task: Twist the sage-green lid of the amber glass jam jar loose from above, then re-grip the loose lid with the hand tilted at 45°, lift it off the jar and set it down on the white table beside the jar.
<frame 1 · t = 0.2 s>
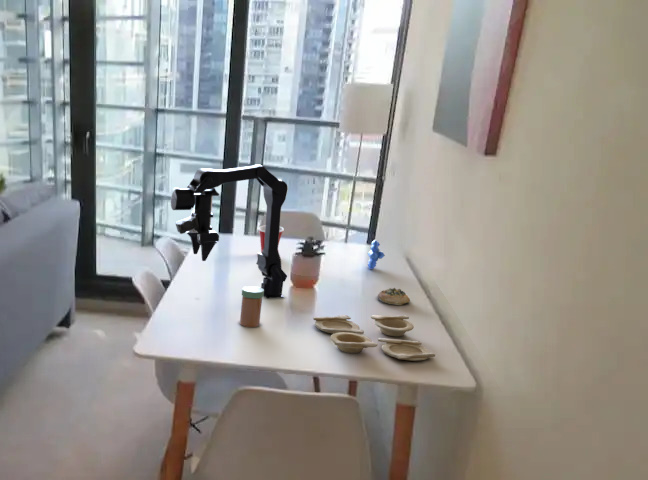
hand: (199, 257, 237), 15 cm above the table, tool pointing down, fingers open, 9 cm apart
bread roll: (393, 301, 251), on the table
tableware set: (369, 341, 212), on the table
jar: (249, 324, 221), on the table
lid: (252, 290, 217), point 11 cm above the table, screwed on, not yet turned
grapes: (373, 269, 292), on the table
plastic cup: (267, 256, 305), on the table
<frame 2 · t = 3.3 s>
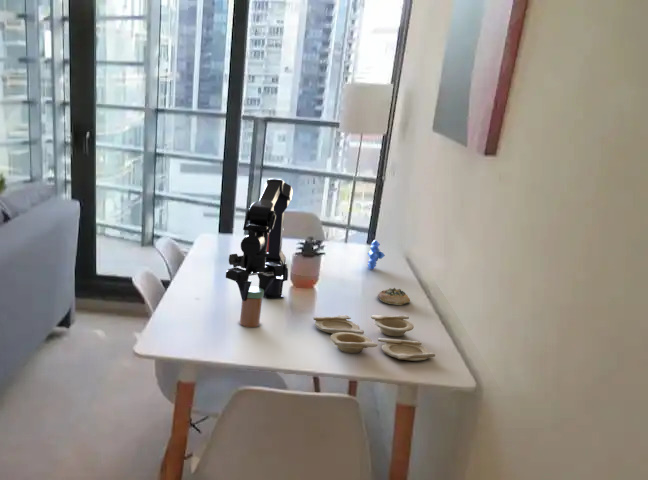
hand: (252, 299, 218), 8 cm above the table, tool pointing down, fingers closed on lid, 6 cm apart
lid: (252, 290, 217), point 11 cm above the table, screwed on, not yet turned, touching gripper
everything else where it was.
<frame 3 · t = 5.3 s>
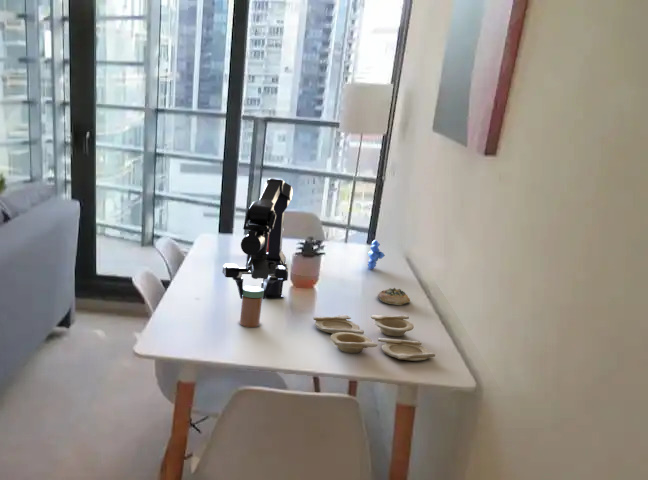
hand: (252, 298, 218), 8 cm above the table, tool pointing down, fingers closed on lid, 6 cm apart
lid: (253, 290, 217), point 11 cm above the table, off its thread, touching gripper
everything else where it was.
when the fingers open (8 cm above the table, at t = 5.9 s): lid stays where it is, resting on jar.
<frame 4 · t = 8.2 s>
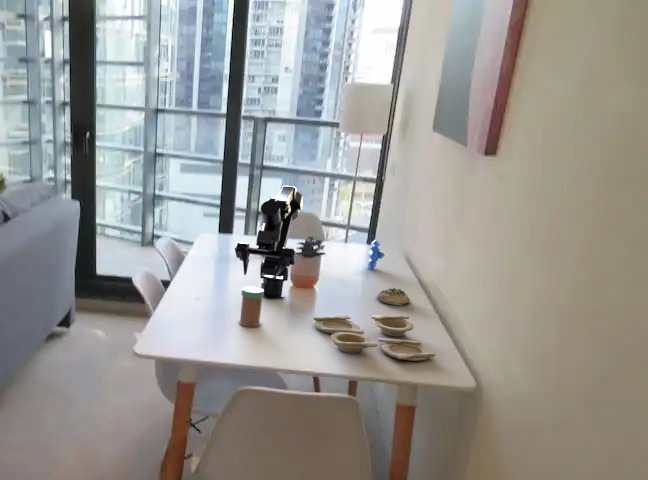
hand: (259, 276, 223), 13 cm above the table, tool tilted 45°, fingers open, 9 cm apart
jar: (249, 324, 221), on the table, touching lid
lid: (253, 290, 217), point 11 cm above the table, off its thread, touching jar
everything else where it was.
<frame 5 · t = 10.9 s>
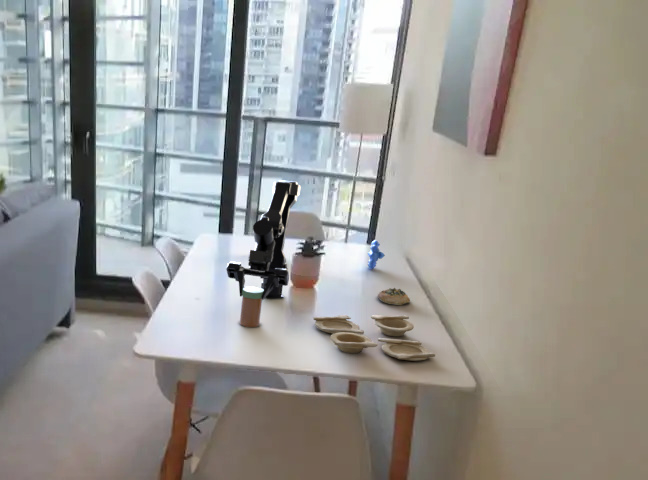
hand: (251, 297, 217), 9 cm above the table, tool tilted 45°, fingers closed on lid, 6 cm apart
lid: (253, 290, 217), point 11 cm above the table, off its thread, touching gripper, jar
everything else where it was.
when the fingers open (3 cm above the table, at t = 16.6 s): lid drops 3 cm, point 1 cm above the table.
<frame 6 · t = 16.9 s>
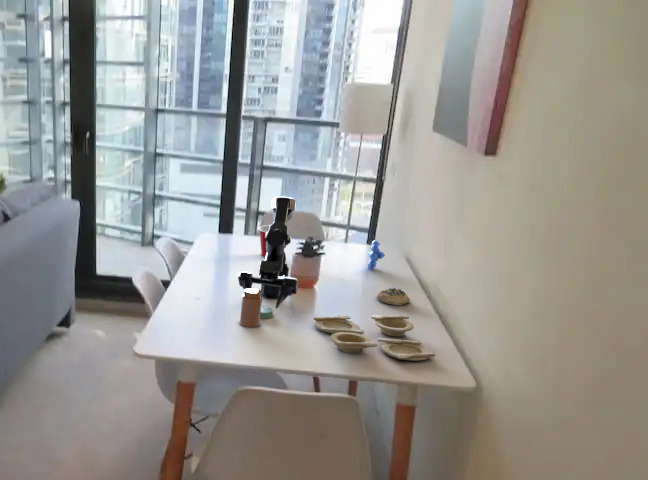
hand: (262, 305, 227), 4 cm above the table, tool tilted 45°, fingers open, 9 cm apart
jar: (249, 324, 221), on the table
lid: (262, 310, 229), point 1 cm above the table, off its thread
everything else where it was.
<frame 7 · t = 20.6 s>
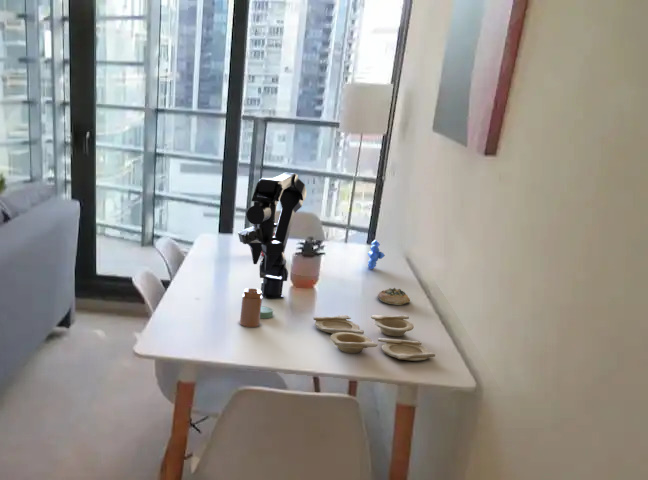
hand: (260, 267, 234), 13 cm above the table, tool pointing down, fingers open, 9 cm apart
nothing on the table moved.
at the end: lid came off its thread; lid point 1.5 cm above the table; the gripper is holding nothing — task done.
